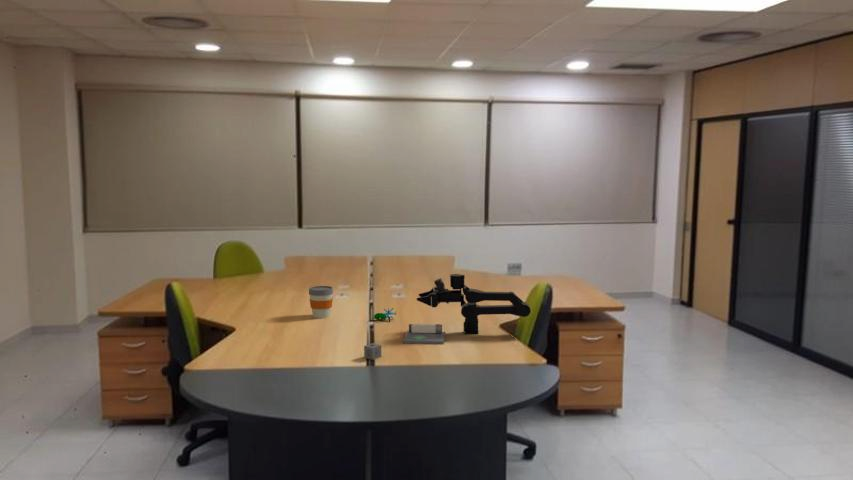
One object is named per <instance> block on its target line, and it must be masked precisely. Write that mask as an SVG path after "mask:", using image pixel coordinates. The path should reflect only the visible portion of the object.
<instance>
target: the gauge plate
mask: <svg viewBox="0 0 853 480" xmlns="http://www.w3.org/2000/svg"><path fill="white" fill-rule="evenodd" d="M446 334H447V333H446V331H442V333H440V334H437V333H414V332H409V330H407V331H406V333H405V336H404V338H403V340H402V343H403V344H425V345H426V344H429V345H430V344H432V345H443V344H444V343H445V340H446Z"/></svg>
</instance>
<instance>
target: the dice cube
mask: <svg viewBox="0 0 853 480" xmlns="http://www.w3.org/2000/svg"><path fill="white" fill-rule="evenodd" d="M363 356H364V357H363V358H364V359H368V360H372V361H373V360H378V359H379V358H382V345H381V344H377V343H374V342H372V343H369V344H366V345H364V346H363Z"/></svg>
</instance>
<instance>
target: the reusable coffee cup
mask: <svg viewBox="0 0 853 480" xmlns="http://www.w3.org/2000/svg"><path fill="white" fill-rule="evenodd" d="M308 294H309V306H310V308H311V311H312V317H313V318H314V319H327V318H329V317H331V312H332V307H333V302H334V300H333V294H334V288H333V287H332V286H329V285H317V286H311V287H309V288H308Z"/></svg>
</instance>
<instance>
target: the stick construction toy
mask: <svg viewBox="0 0 853 480" xmlns="http://www.w3.org/2000/svg"><path fill="white" fill-rule="evenodd" d="M387 309H388V310H387ZM387 309H386V308H383V311H385V313H382V312H381V313H380V312H377V313H375V314H373V319H375V320H379V321H380V322H382V320H384V321H386V319H387V318H388V323H391V319H392V320H394V319H395V318H394V317H393V316H392V315H395V316H396V315H397V311H395V312H392V311H393V310H394V307H392V308H391V309H390V308H387Z"/></svg>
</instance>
